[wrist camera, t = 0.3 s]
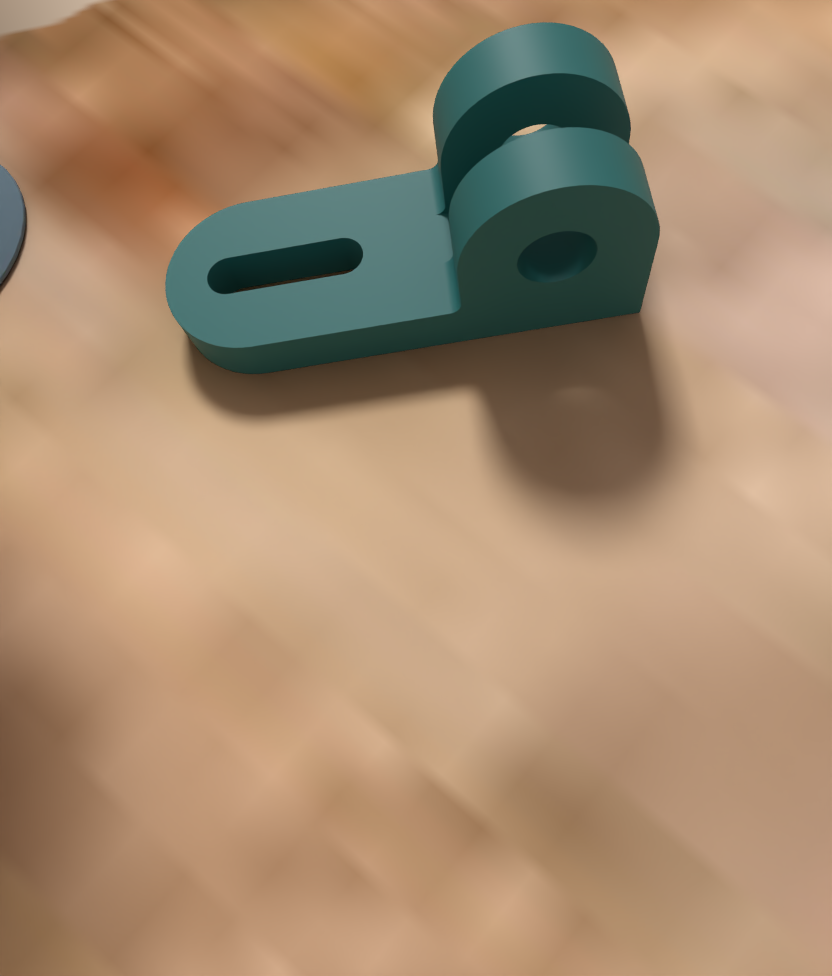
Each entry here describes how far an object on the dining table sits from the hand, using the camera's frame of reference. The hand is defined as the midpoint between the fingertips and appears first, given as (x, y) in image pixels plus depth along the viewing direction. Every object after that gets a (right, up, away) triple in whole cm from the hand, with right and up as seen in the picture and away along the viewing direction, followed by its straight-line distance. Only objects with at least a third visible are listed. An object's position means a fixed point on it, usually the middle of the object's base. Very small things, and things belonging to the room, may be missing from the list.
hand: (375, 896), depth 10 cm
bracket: (0, +14, +22) cm, 26 cm away
